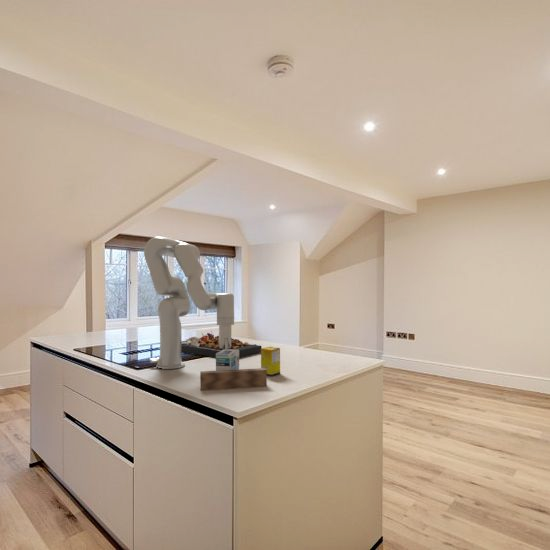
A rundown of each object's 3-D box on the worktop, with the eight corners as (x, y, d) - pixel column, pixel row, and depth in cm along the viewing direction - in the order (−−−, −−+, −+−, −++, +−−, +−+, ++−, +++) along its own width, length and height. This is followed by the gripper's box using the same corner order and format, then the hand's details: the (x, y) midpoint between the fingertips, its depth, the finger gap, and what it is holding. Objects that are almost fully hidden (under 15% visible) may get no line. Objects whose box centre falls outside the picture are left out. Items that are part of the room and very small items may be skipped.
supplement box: (269, 371, 158) (269, 346, 158) (280, 373, 154) (280, 347, 154) (260, 374, 153) (260, 348, 154) (271, 376, 150) (271, 349, 150)
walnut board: (200, 390, 131) (200, 373, 131) (200, 388, 134) (200, 371, 134) (266, 386, 136) (266, 369, 136) (265, 384, 139) (265, 368, 139)
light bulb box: (231, 381, 142) (231, 353, 142) (215, 380, 143) (215, 353, 144) (239, 375, 153) (239, 349, 153) (224, 374, 154) (224, 348, 154)
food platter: (172, 351, 209) (172, 333, 209) (205, 345, 229) (205, 329, 229) (230, 361, 182) (230, 340, 182) (261, 353, 202) (261, 334, 202)
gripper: (215, 319, 168) (216, 360, 167) (217, 323, 153) (217, 367, 153) (232, 319, 169) (232, 359, 169) (235, 322, 155) (235, 366, 154)
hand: (225, 363), depth 161 cm, fingers closed
